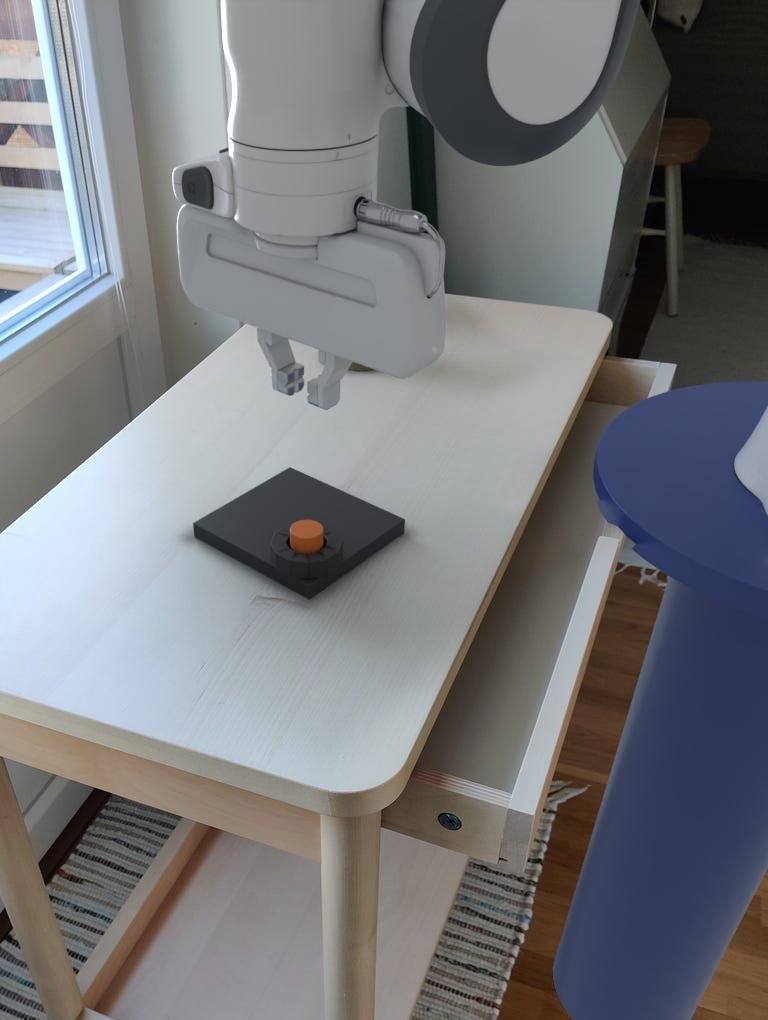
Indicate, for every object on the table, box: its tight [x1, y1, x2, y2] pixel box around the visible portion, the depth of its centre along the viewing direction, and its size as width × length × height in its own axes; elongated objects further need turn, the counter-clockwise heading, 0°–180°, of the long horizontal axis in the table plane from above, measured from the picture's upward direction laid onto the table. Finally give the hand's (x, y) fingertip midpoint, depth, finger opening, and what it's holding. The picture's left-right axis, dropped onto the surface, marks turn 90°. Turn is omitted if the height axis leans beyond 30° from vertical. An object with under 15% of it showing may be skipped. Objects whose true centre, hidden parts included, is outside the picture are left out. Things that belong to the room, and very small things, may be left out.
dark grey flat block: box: [192, 466, 406, 600], centre depth 79 cm, size 13×12×3 cm
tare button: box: [290, 520, 324, 554], centre depth 74 cm, size 3×3×2 cm
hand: (305, 397), depth 66 cm, fingers closed
